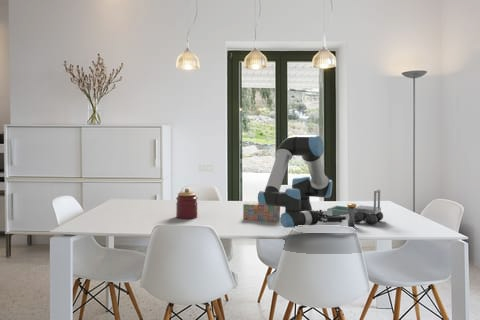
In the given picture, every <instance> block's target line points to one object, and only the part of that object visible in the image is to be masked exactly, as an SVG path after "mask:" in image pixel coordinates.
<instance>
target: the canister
mask: <svg viewBox="0 0 480 320" xmlns="http://www.w3.org/2000/svg"><path fill="white" fill-rule="evenodd" d="M197 200H198V197H197V193H195V191H190V189H189V188H187V187H186V188H185V189H184V191H180V192H178V193H177V197H176V203H175V204H176V207H175V209H176V211H175V212H176V213H175V215H176V218H177V219H180V220H181V219H182V220H189V219H191V220H192V219H196V218H198V201H197Z"/></svg>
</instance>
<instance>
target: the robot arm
mask: <svg viewBox="0 0 480 320" xmlns="http://www.w3.org/2000/svg"><path fill="white" fill-rule="evenodd" d="M324 149H325V148H324V140H323V139H322V137H321V136H320V135H315V134H312V135H308V134H307V135H304V134H303V135H290V136H288V137H286V138H285V139H284V140H282V141H281V143H280V144H279V145H278V147H277V148H276V152H275V159H274V162H273V165H272V168H271V172H270V174H269V177H268V181H267V183H266V185H265V189H263V190H260V191H259V192H258V193H257V203H258V202H259V204H261V205H266V206H267V205H268V206H280V208H281V207H283V208H284V209H285V210H284V212H283V213H280V220H279V221H280V224H281V226H282V227H283V228H285V229H286V228H287V229H289V228H292V229H293V228H296V227H295V226H298V225H308V226H316V225H317V224H318V223H319V222H320V223H321V222H323V223H342V222H343V221H348V220H349V215H339V216H338V215H332V210H328V211H327V210H322V209H319V210H313V207H312V204H311V201H310V199H311V198H310V197H314V198H324V199H325V198H326V199H327V198H328V199H329V198H330V197H331V196H332V193H333V192H332V191H333V185H334V184H333V180H332V179H330V178H329V177H328V176H327V175H326V174H325V171H324V166H323V163H322V162H323V161H322V159H321V157H322V156H323V154H324ZM294 156H297V157H298V156H300V157H301V158H302V160H303V161H305V162H306V165H307V169H308V171H309V175H310V176H299V177H294V178H292V181H291V182H292V183H291V188H286V189H285V190H284V191H281V187H282V184H283V180H284V178H285V174H286V172H287V169H288V165H289V162H290V161H291V160H292V159H293V157H294Z"/></svg>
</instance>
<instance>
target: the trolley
mask: <svg viewBox="0 0 480 320" xmlns="http://www.w3.org/2000/svg"><path fill="white" fill-rule="evenodd" d="M381 210H382V207H381V189H377V190H374V192H373V206H371V205H370V206H369V205H361V204H360V205H358V206H356V207H355V212H356V213H355V224H360V223H361V222H363V220H365V223H366V224H367V225H369V226H374V225H375V224H377V222H380V221H382V220H383V219H384V214H383V212H382V211H381Z"/></svg>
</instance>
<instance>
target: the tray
mask: <svg viewBox="0 0 480 320" xmlns="http://www.w3.org/2000/svg"><path fill="white" fill-rule="evenodd" d="M328 210H332V215H331V216H339V215H348V206H343V205H334V206H332V207H329V208H327V209H326V211H328Z"/></svg>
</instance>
